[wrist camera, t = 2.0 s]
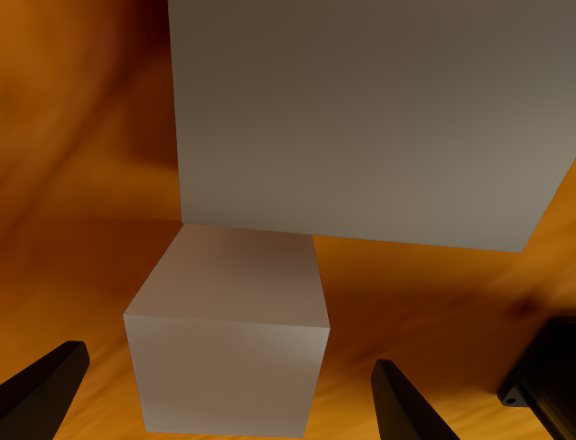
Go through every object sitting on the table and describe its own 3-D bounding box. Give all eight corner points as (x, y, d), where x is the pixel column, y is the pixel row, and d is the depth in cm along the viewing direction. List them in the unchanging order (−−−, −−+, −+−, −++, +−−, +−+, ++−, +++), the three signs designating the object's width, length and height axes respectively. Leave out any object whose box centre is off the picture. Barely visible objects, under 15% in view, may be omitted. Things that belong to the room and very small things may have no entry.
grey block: (443, 197, 11) (521, 252, 8) (215, 174, 10) (182, 223, 7) (568, -127, 7) (855, -334, 4) (214, -195, 7) (134, -528, 3)
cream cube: (295, 320, 14) (302, 438, 9) (191, 313, 13) (146, 431, 9) (311, 231, 11) (330, 328, 7) (187, 220, 11) (122, 314, 7)
